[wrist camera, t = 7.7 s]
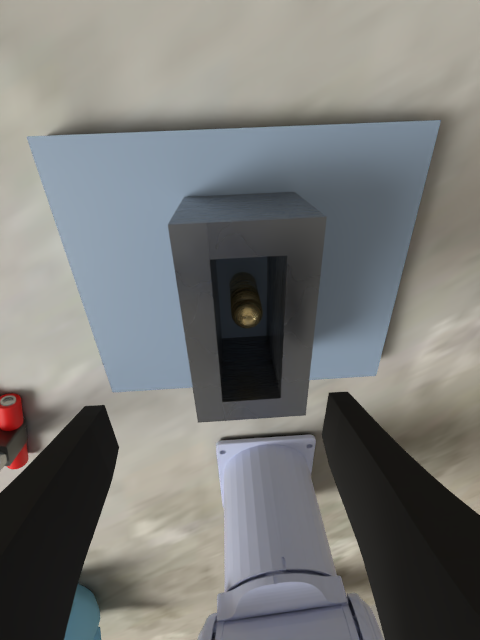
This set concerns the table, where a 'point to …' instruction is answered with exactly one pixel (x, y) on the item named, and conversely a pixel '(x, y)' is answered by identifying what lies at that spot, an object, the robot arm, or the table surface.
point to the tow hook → (12, 432)
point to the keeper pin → (245, 300)
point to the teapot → (83, 617)
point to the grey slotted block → (282, 301)
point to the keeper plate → (158, 268)
